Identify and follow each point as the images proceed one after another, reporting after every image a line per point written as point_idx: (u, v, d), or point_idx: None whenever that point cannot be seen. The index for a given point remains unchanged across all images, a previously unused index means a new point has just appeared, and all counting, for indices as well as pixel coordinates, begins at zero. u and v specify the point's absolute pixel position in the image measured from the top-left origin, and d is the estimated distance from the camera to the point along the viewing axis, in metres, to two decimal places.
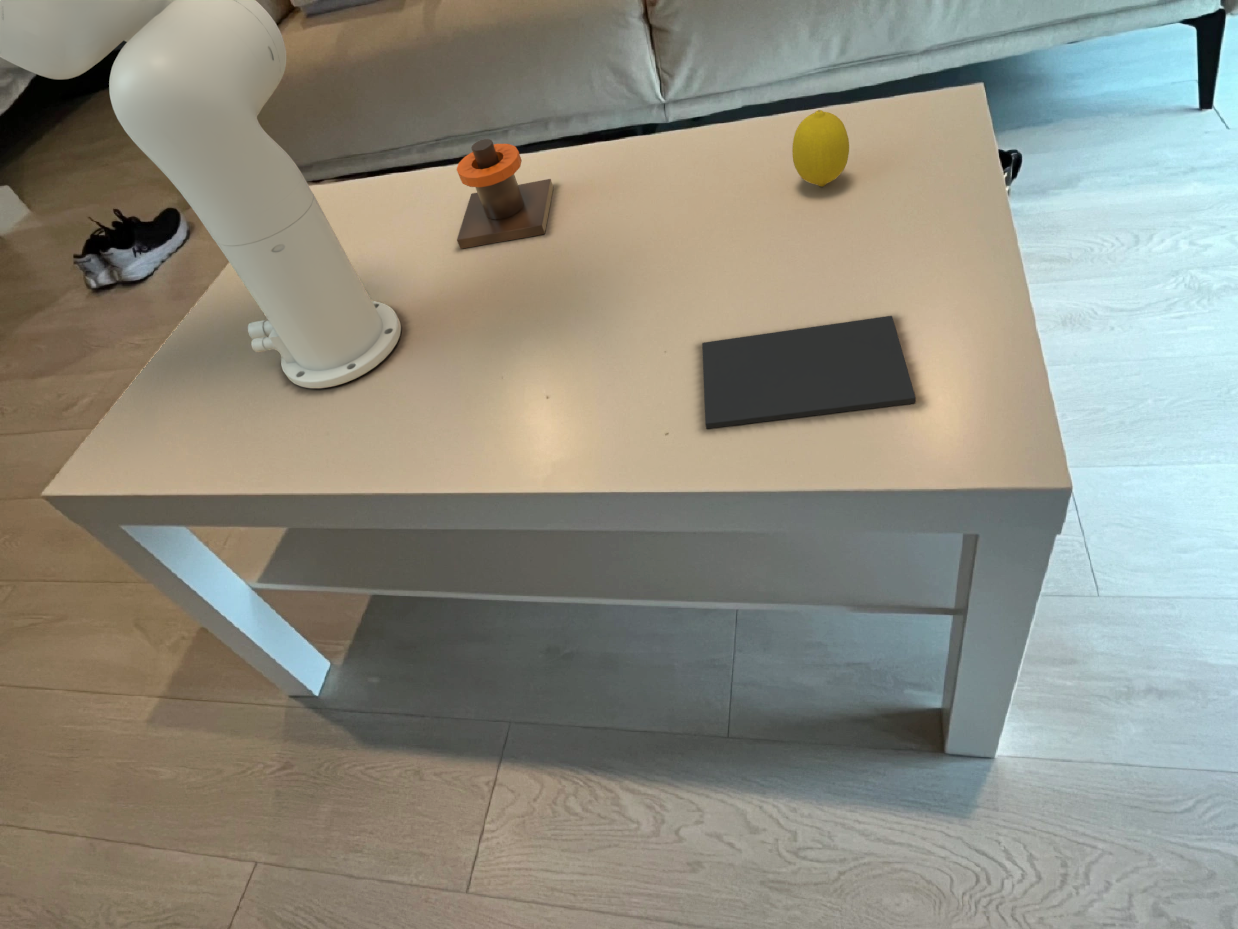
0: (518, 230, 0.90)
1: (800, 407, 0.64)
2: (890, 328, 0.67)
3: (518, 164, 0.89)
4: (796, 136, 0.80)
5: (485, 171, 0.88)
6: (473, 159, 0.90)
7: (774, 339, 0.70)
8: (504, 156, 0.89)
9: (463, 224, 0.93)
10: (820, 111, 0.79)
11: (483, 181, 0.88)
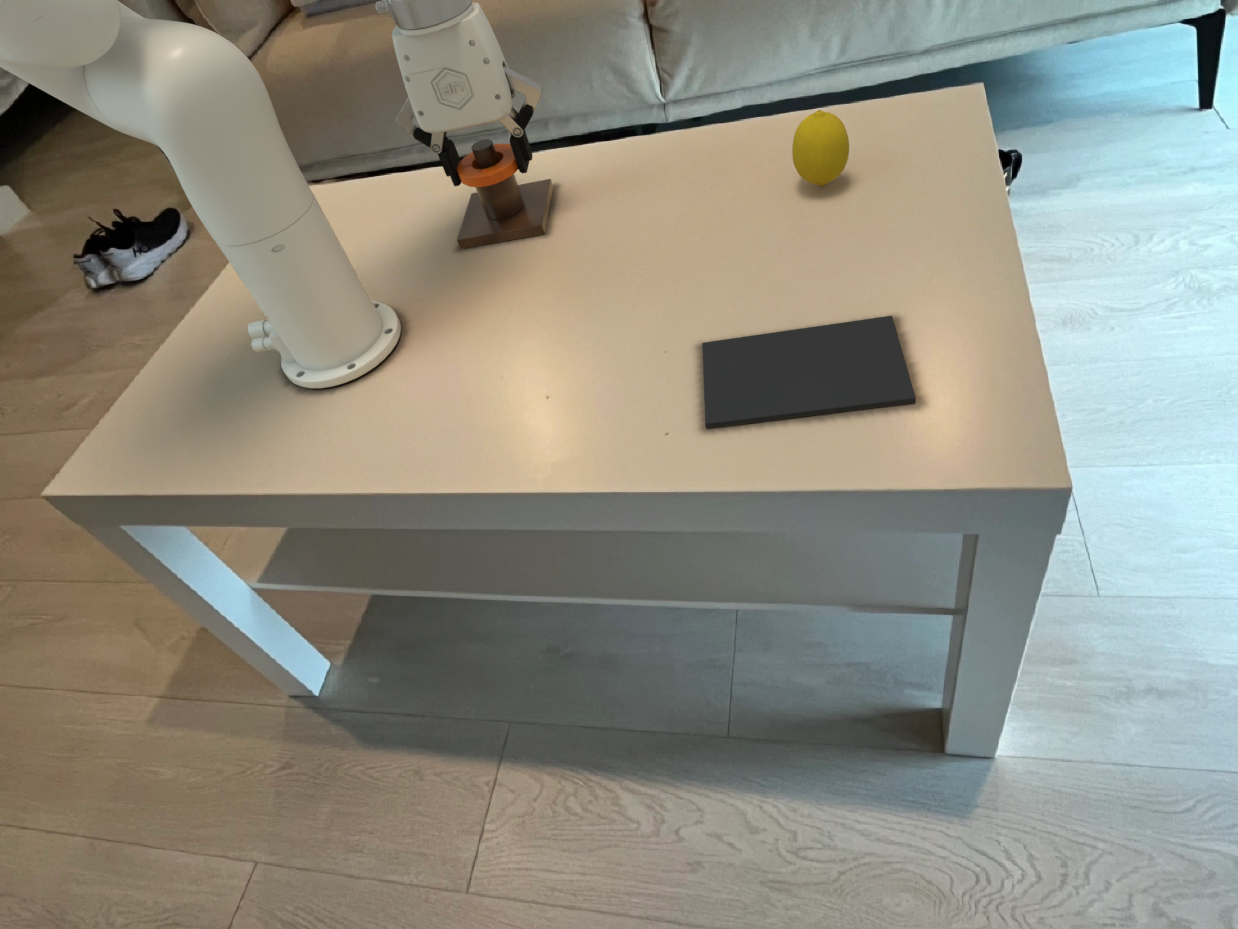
0: (518, 230, 0.90)
1: (800, 407, 0.64)
2: (890, 328, 0.67)
3: None
4: (796, 136, 0.80)
5: (485, 171, 0.88)
6: (473, 159, 0.90)
7: (774, 339, 0.70)
8: (504, 156, 0.89)
9: (463, 224, 0.93)
10: (820, 111, 0.79)
11: (483, 181, 0.88)
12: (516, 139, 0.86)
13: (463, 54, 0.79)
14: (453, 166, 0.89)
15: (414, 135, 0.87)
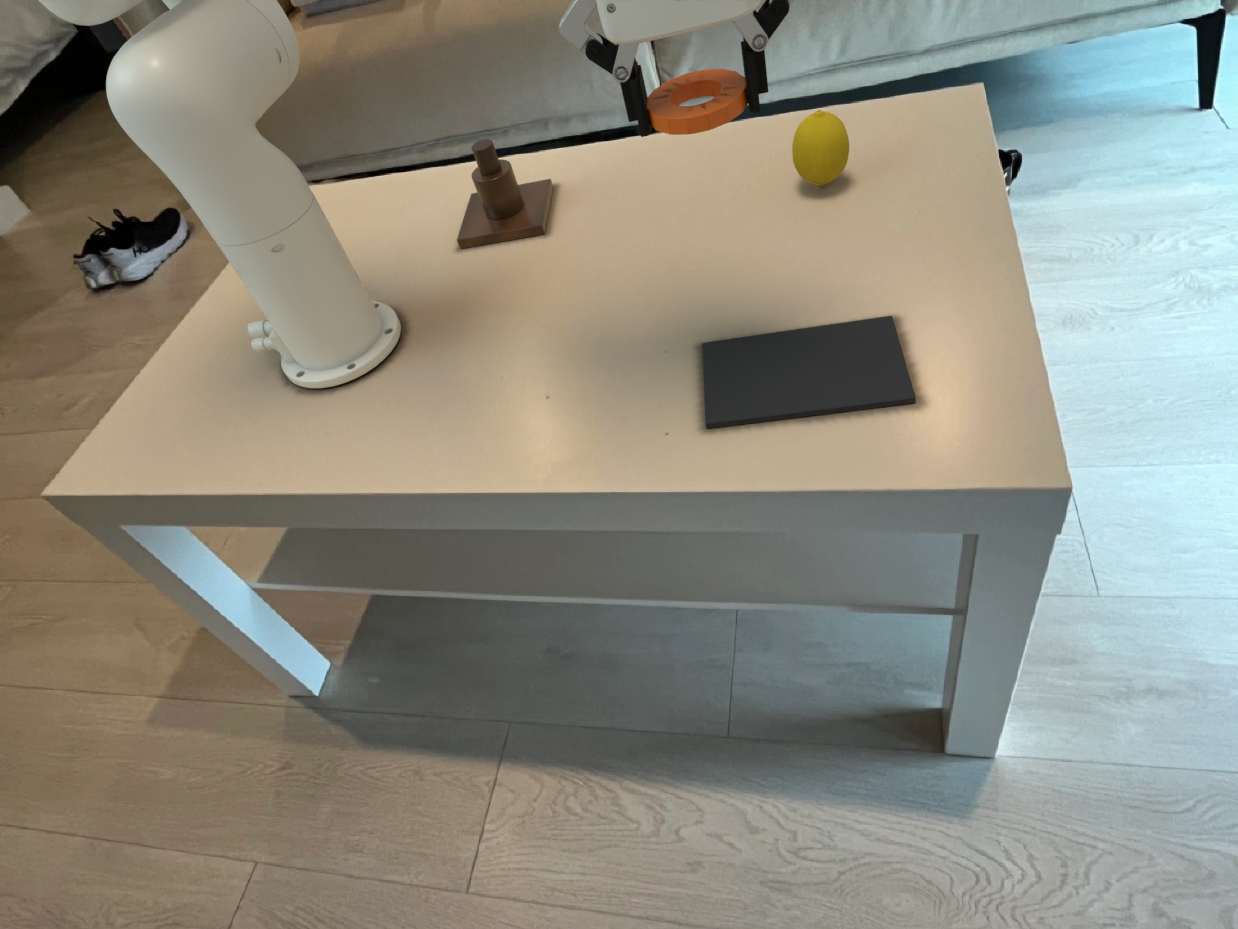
0: (518, 230, 0.90)
1: (800, 407, 0.64)
2: (890, 328, 0.67)
3: (747, 97, 0.56)
4: (796, 136, 0.80)
5: (699, 108, 0.55)
6: (670, 93, 0.57)
7: (774, 339, 0.70)
8: (723, 86, 0.56)
9: (463, 224, 0.93)
10: (820, 111, 0.79)
11: (697, 124, 0.55)
12: (754, 55, 0.53)
13: None
14: (644, 103, 0.56)
15: (587, 52, 0.54)
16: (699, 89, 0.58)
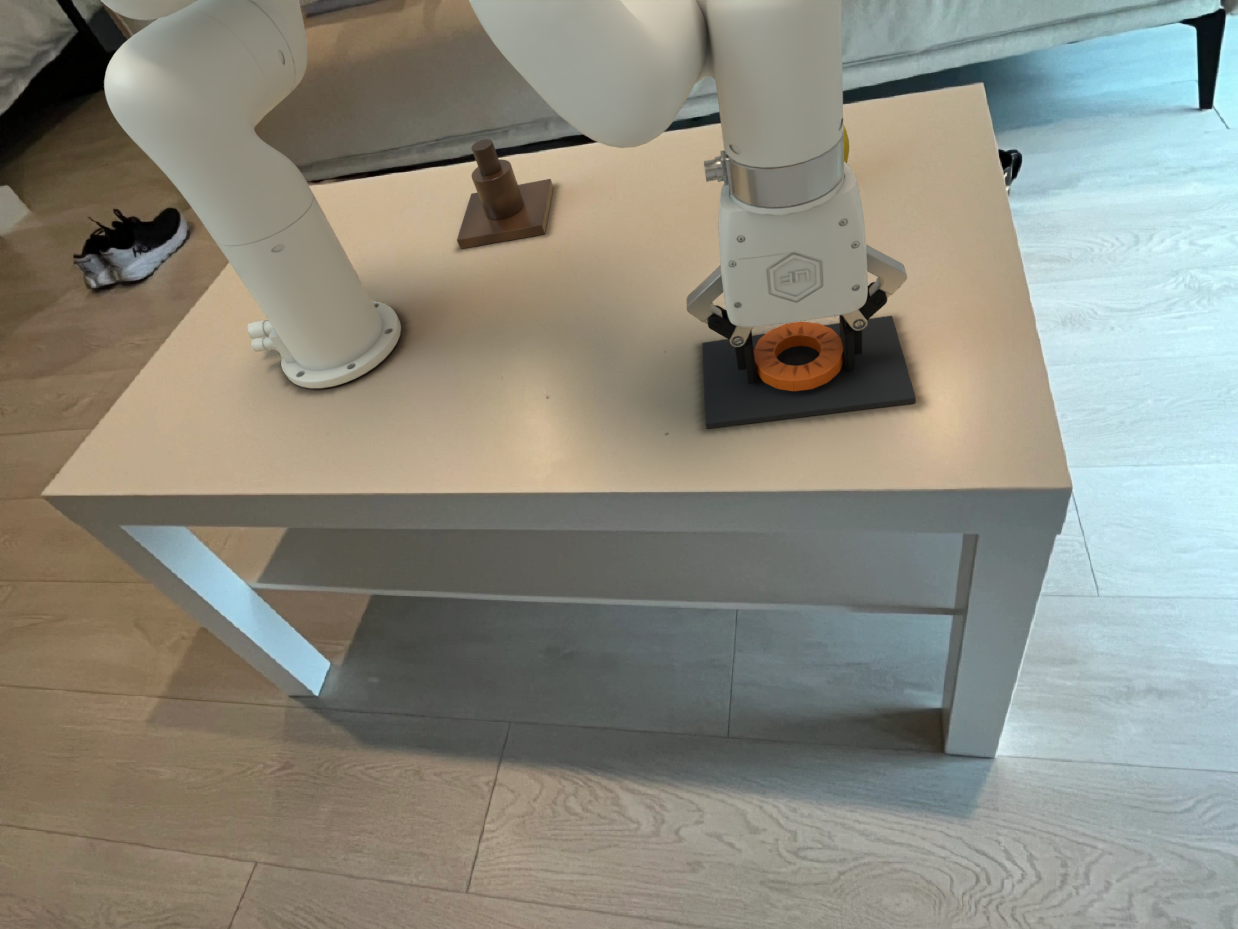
0: (518, 230, 0.90)
1: (800, 407, 0.64)
2: (890, 328, 0.67)
3: (843, 358, 0.65)
4: None
5: (803, 370, 0.64)
6: (774, 346, 0.66)
7: None
8: (822, 346, 0.65)
9: (463, 224, 0.93)
10: None
11: (801, 385, 0.63)
12: (853, 332, 0.62)
13: (826, 236, 0.54)
14: None
15: (710, 324, 0.63)
16: (799, 341, 0.67)
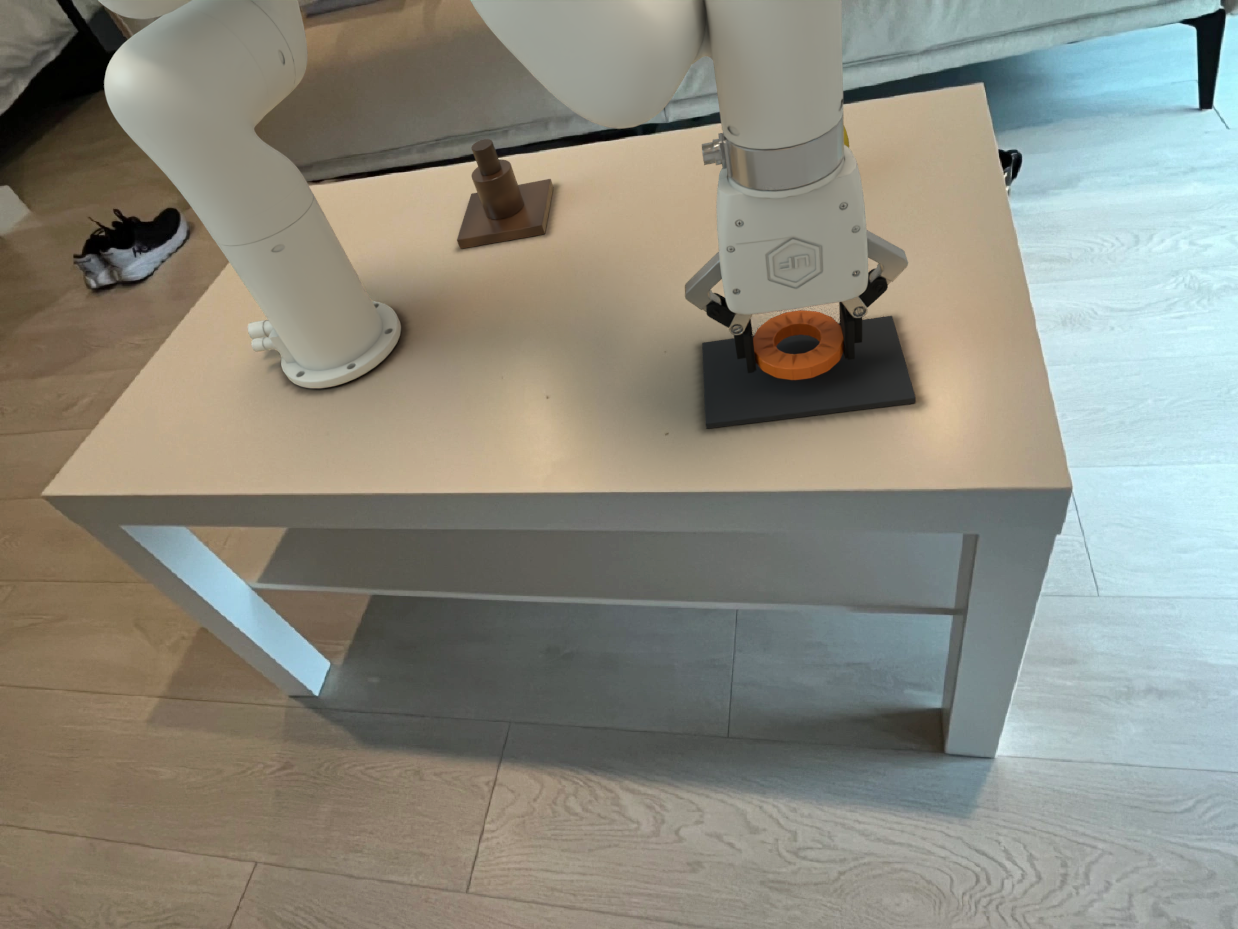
0: (518, 230, 0.90)
1: (800, 407, 0.64)
2: (890, 328, 0.67)
3: (843, 346, 0.64)
4: None
5: (803, 359, 0.63)
6: (773, 335, 0.65)
7: None
8: (822, 334, 0.64)
9: (463, 224, 0.93)
10: None
11: (801, 374, 0.62)
12: (853, 320, 0.61)
13: (826, 221, 0.53)
14: (753, 350, 0.64)
15: (708, 312, 0.62)
16: (798, 329, 0.66)
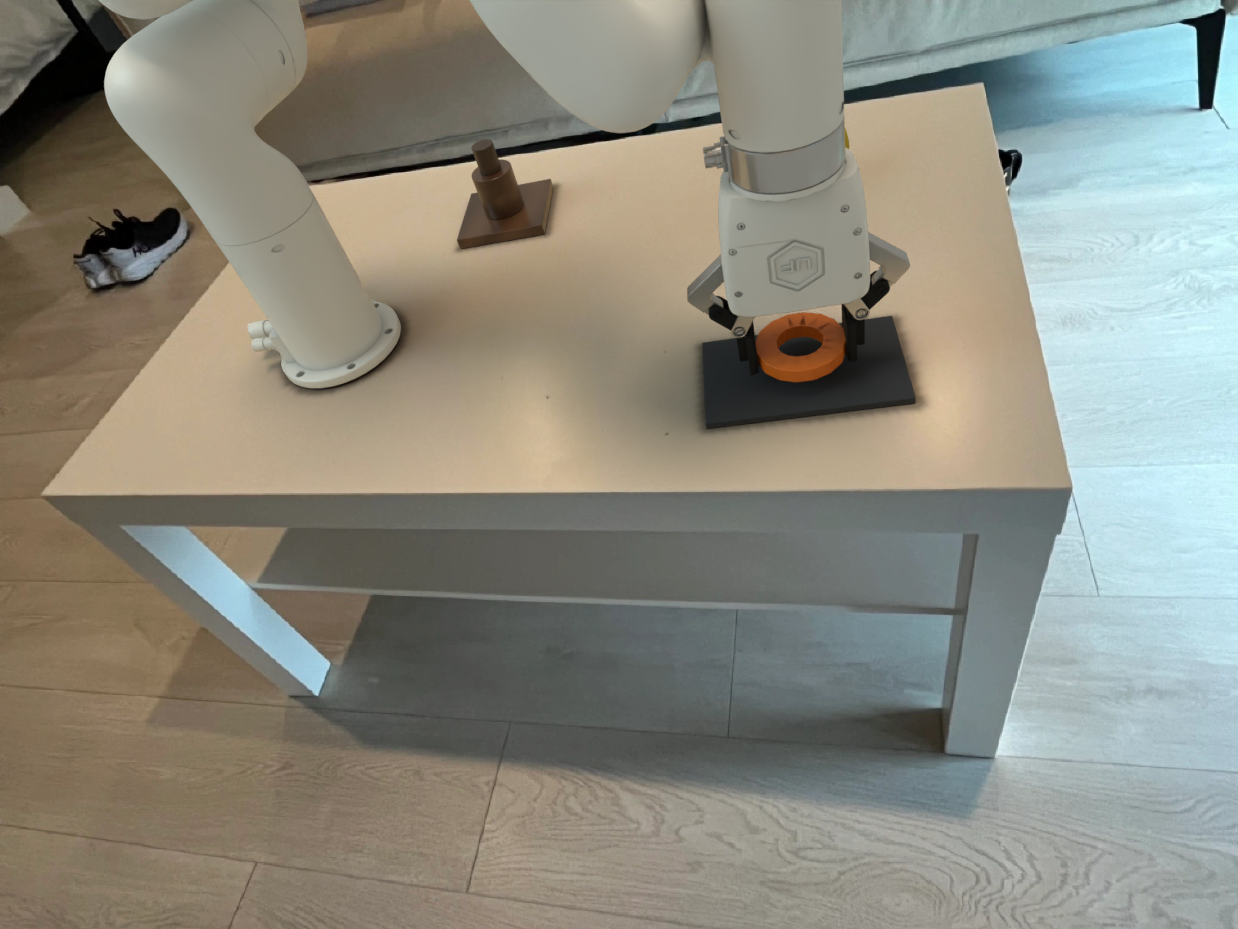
0: (518, 230, 0.90)
1: (800, 407, 0.64)
2: (890, 328, 0.67)
3: None
4: None
5: (805, 361, 0.63)
6: (776, 337, 0.65)
7: None
8: (825, 336, 0.64)
9: (463, 224, 0.93)
10: None
11: (803, 376, 0.63)
12: (855, 322, 0.61)
13: (827, 223, 0.54)
14: None
15: (711, 315, 0.62)
16: (801, 332, 0.66)
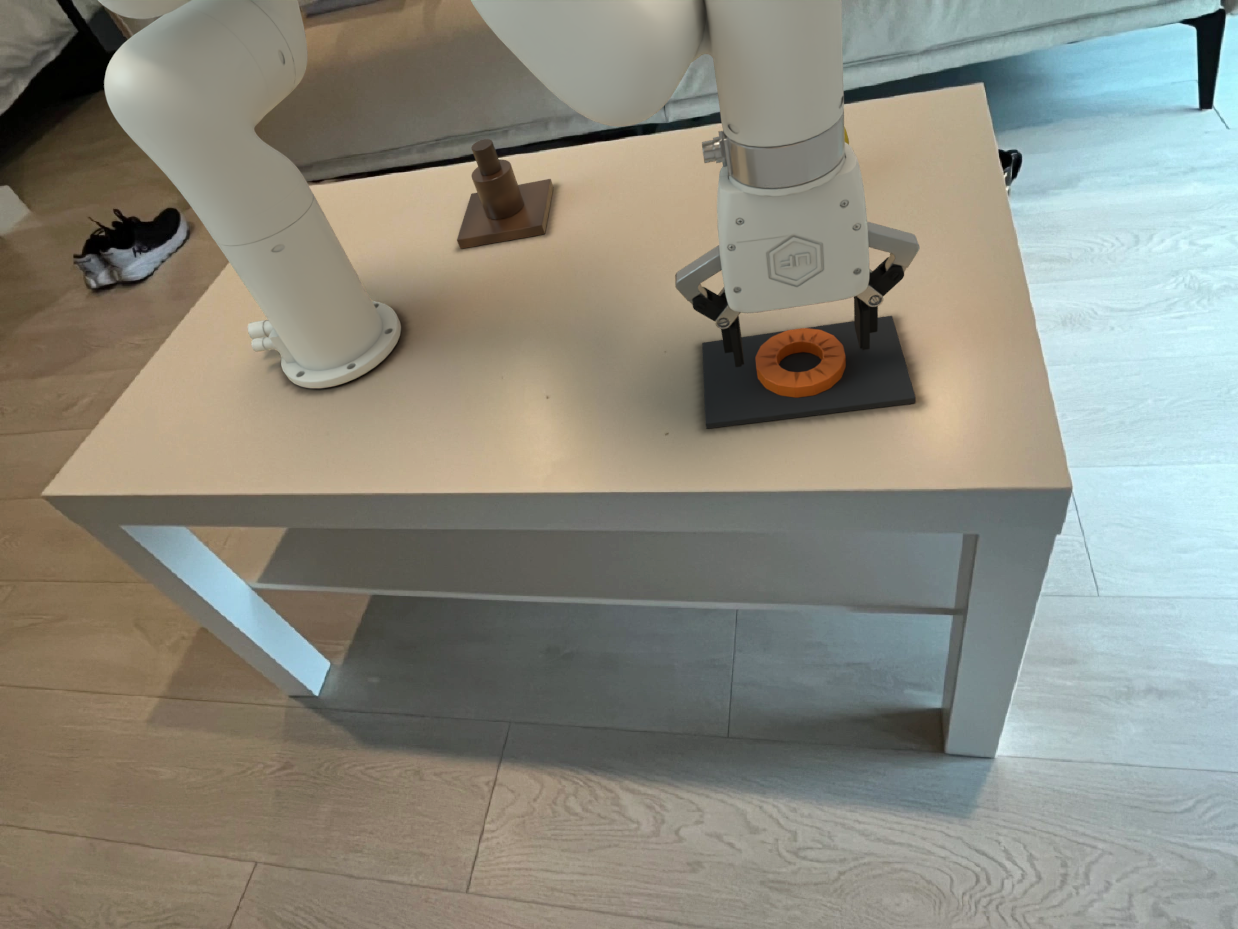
0: (518, 230, 0.90)
1: (800, 407, 0.64)
2: (890, 328, 0.67)
3: (845, 364, 0.65)
4: None
5: (805, 377, 0.64)
6: (776, 353, 0.67)
7: None
8: (824, 352, 0.65)
9: (463, 224, 0.93)
10: None
11: (803, 391, 0.64)
12: None
13: (827, 218, 0.53)
14: (740, 344, 0.63)
15: (695, 306, 0.61)
16: (800, 347, 0.67)
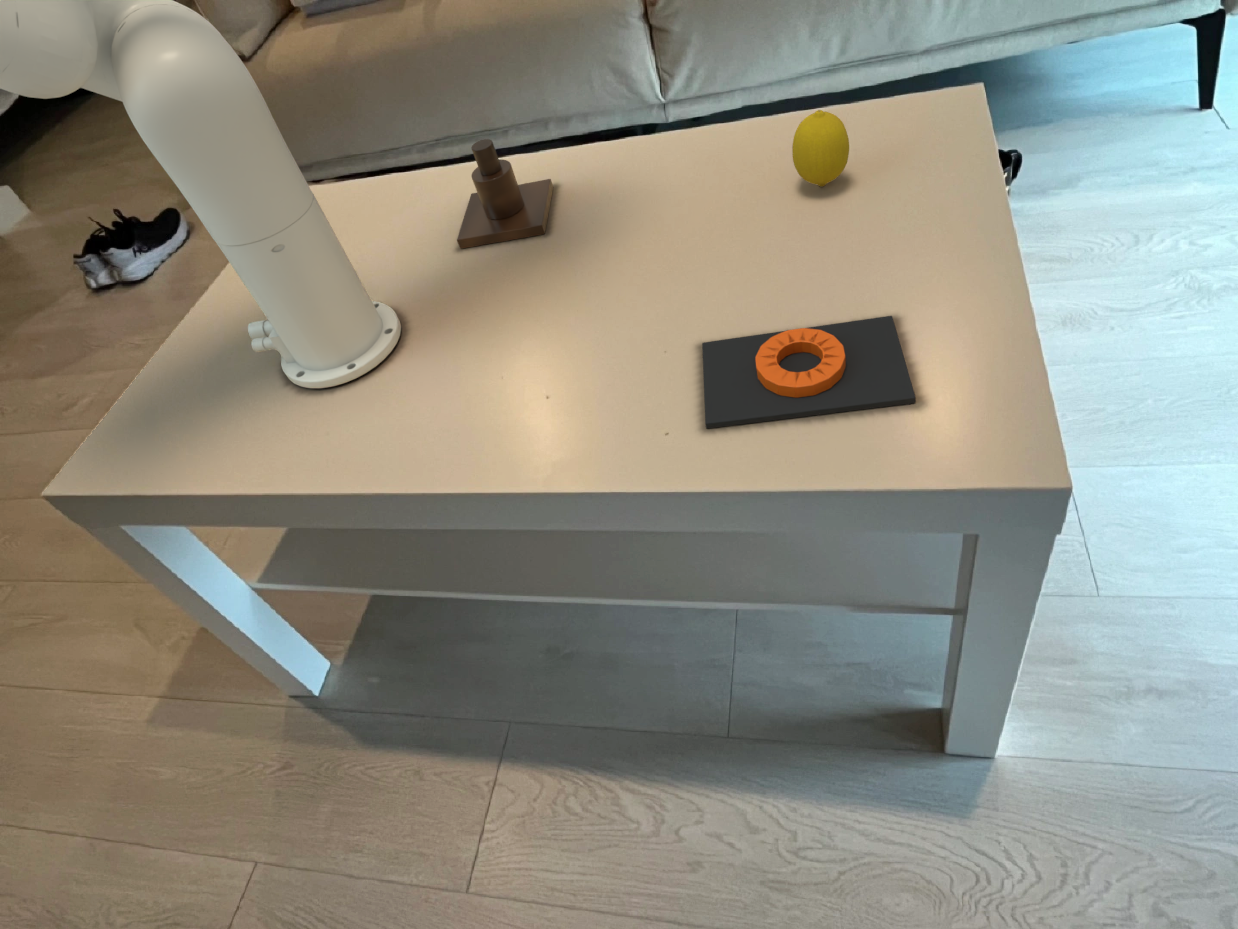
0: (518, 230, 0.90)
1: (800, 407, 0.64)
2: (890, 328, 0.67)
3: (845, 364, 0.65)
4: (796, 136, 0.80)
5: (805, 377, 0.64)
6: (776, 353, 0.67)
7: None
8: (824, 352, 0.65)
9: (463, 224, 0.93)
10: (820, 111, 0.79)
11: (803, 391, 0.64)
12: None
13: None
14: None
15: None
16: (800, 347, 0.67)
